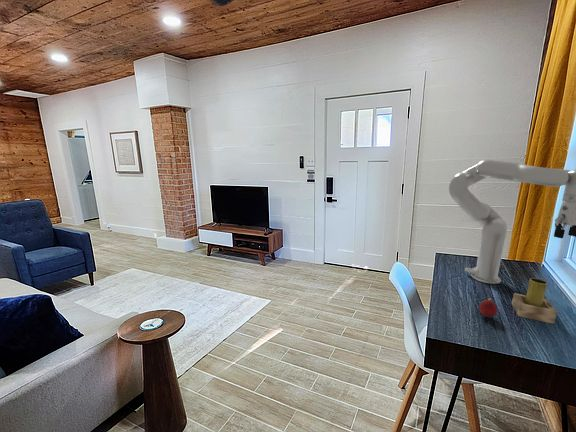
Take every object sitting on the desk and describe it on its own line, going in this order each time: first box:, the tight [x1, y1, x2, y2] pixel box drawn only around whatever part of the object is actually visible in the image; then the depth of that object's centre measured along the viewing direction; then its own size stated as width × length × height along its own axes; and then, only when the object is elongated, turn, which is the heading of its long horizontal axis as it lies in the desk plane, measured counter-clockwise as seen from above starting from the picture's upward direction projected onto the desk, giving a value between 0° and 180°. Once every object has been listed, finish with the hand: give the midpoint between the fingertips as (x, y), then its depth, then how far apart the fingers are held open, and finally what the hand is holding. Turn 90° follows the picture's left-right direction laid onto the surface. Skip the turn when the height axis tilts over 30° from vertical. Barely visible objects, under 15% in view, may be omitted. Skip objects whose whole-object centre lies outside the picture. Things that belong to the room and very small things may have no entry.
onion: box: [478, 298, 498, 318], centre depth 109 cm, size 6×6×8 cm
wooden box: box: [511, 292, 558, 325], centre depth 113 cm, size 11×11×5 cm
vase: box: [524, 277, 548, 307], centre depth 112 cm, size 6×6×14 cm
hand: (565, 236), depth 123 cm, fingers open, 9 cm apart
